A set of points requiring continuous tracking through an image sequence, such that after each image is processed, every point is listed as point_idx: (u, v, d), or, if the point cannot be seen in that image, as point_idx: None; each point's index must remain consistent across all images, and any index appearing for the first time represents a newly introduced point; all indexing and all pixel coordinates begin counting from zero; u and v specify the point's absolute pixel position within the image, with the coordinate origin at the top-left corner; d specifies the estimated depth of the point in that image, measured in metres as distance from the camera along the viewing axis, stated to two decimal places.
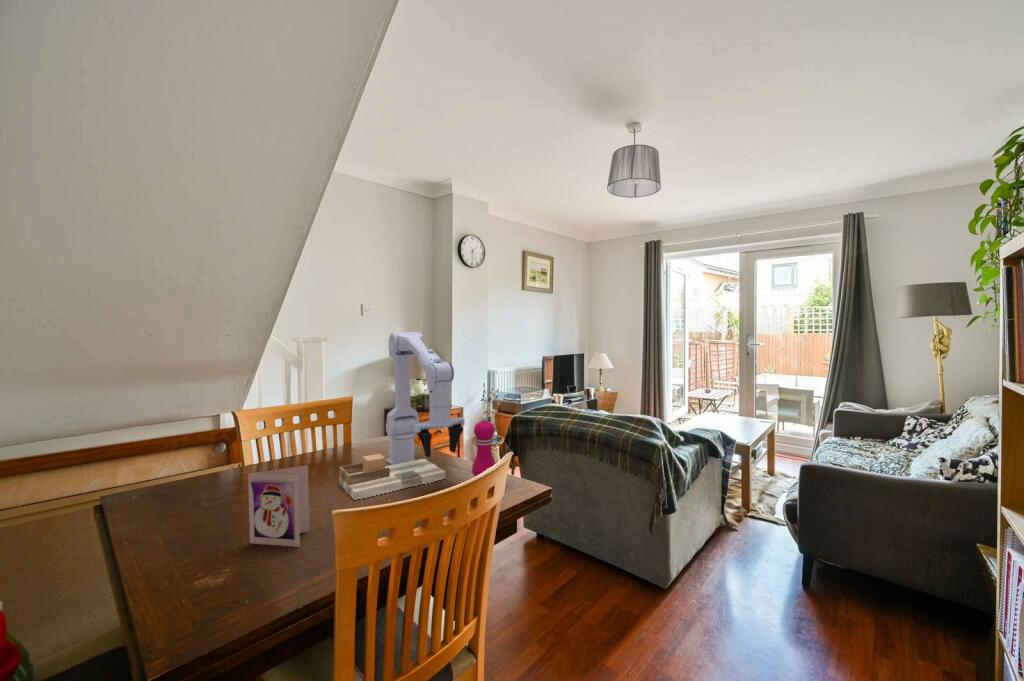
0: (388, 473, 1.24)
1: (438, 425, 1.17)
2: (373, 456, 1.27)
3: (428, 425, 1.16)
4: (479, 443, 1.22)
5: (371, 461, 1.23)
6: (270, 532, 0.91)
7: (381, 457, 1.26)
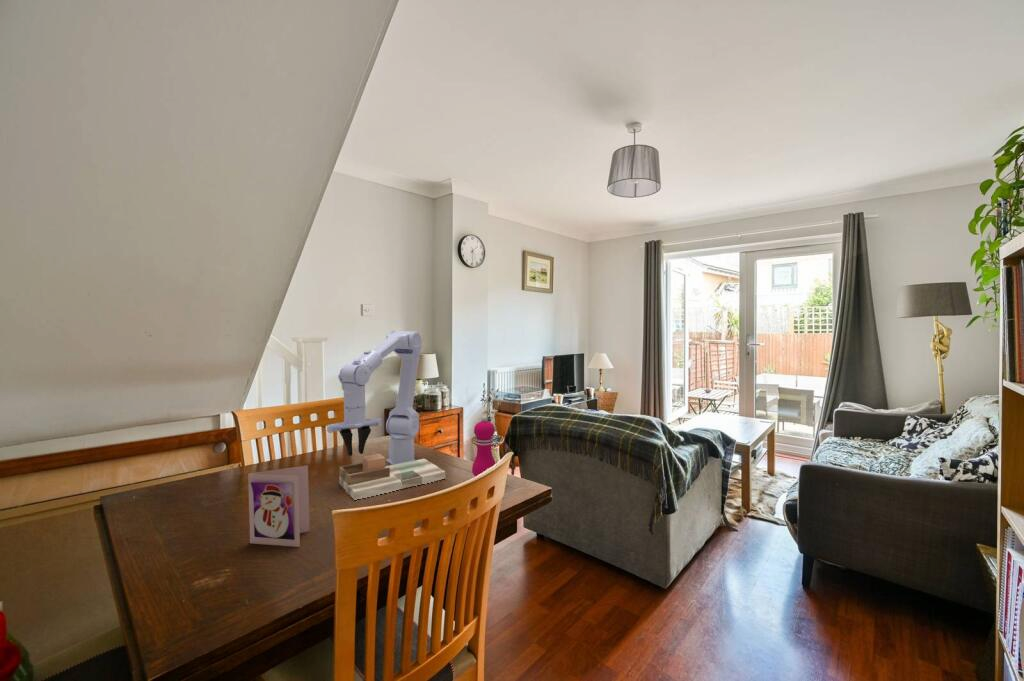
0: (388, 473, 1.24)
1: (351, 426, 1.19)
2: (373, 456, 1.27)
3: (340, 426, 1.19)
4: (479, 443, 1.22)
5: (371, 461, 1.23)
6: (270, 532, 0.91)
7: (381, 457, 1.26)
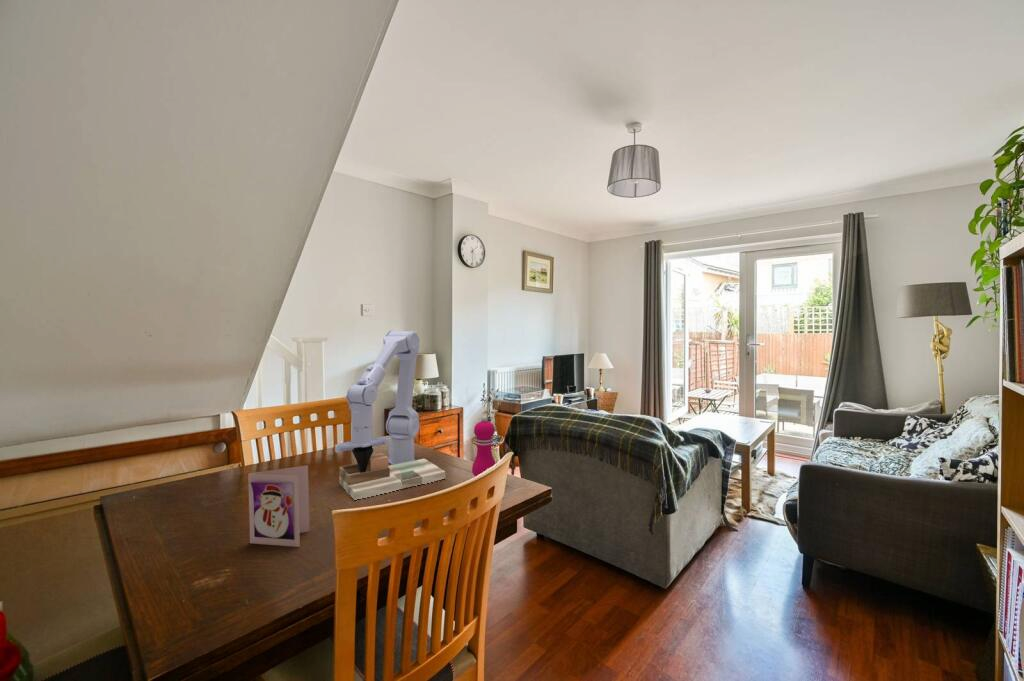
0: (388, 473, 1.24)
1: (358, 445, 1.21)
2: (376, 455, 1.27)
3: (348, 445, 1.20)
4: (479, 443, 1.22)
5: (374, 461, 1.23)
6: (270, 532, 0.91)
7: (384, 456, 1.26)
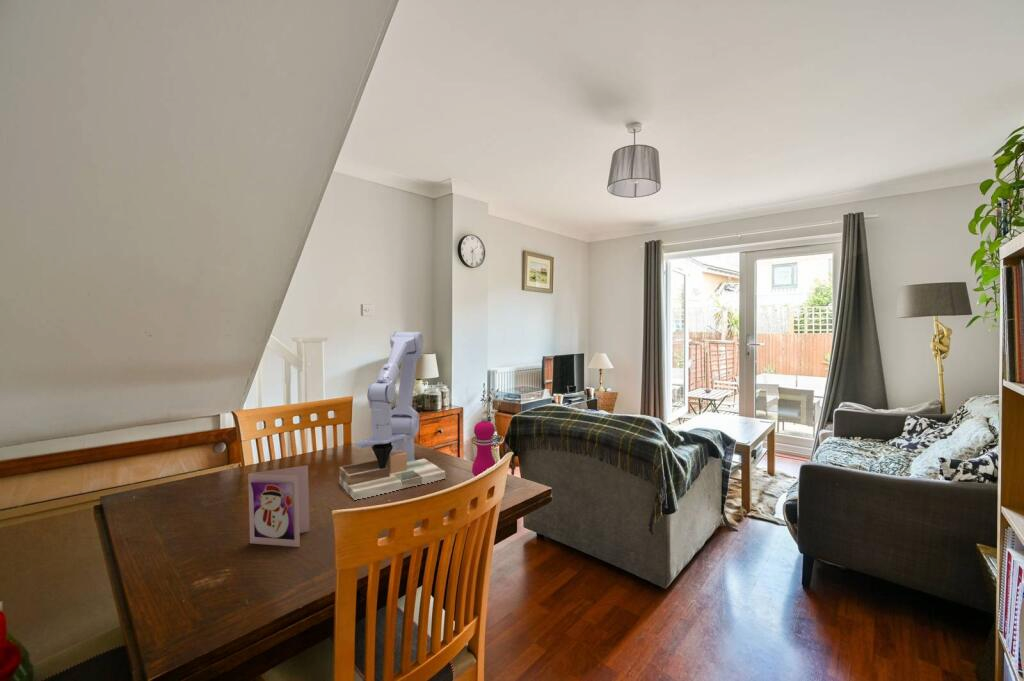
0: (388, 473, 1.24)
1: (378, 442, 1.24)
2: (395, 452, 1.30)
3: (369, 442, 1.23)
4: (479, 443, 1.22)
5: (394, 457, 1.27)
6: (270, 532, 0.91)
7: (403, 453, 1.29)
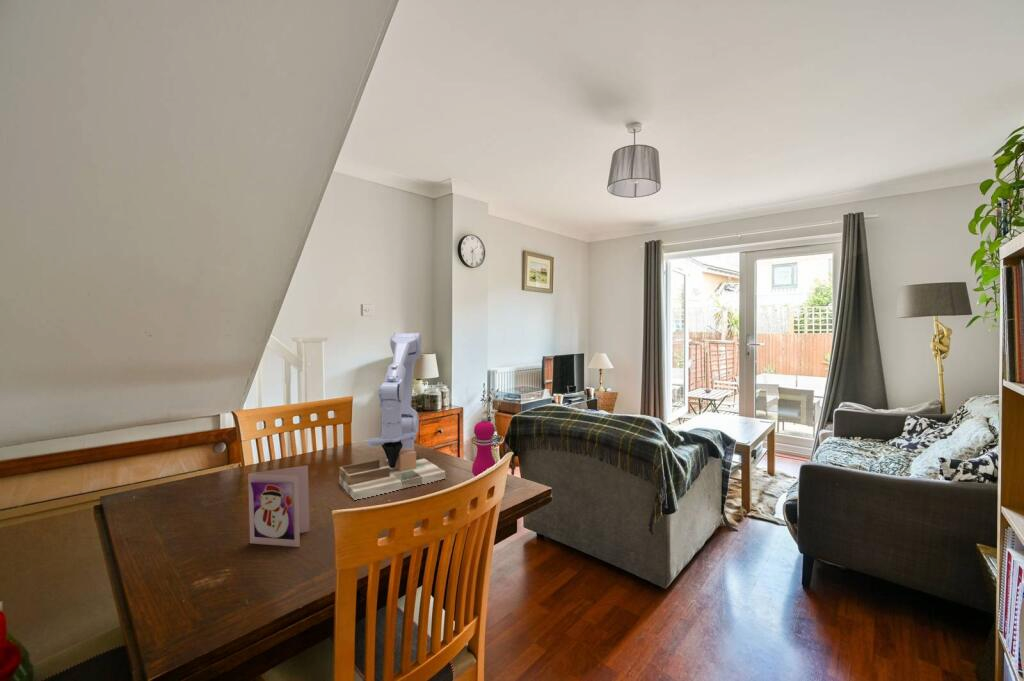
0: (388, 473, 1.24)
1: (389, 440, 1.26)
2: (404, 450, 1.32)
3: (379, 440, 1.25)
4: (479, 443, 1.22)
5: (404, 455, 1.29)
6: (270, 532, 0.91)
7: (412, 451, 1.31)
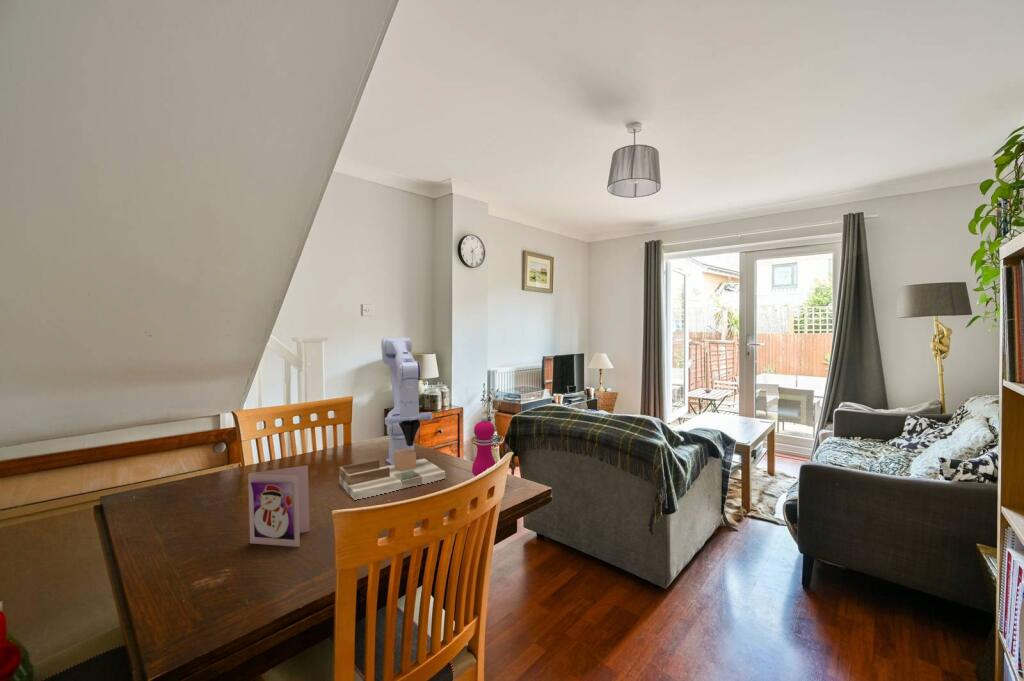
0: (388, 473, 1.24)
1: (406, 418, 1.28)
2: (404, 450, 1.32)
3: (397, 418, 1.27)
4: (479, 443, 1.22)
5: (403, 455, 1.29)
6: (270, 532, 0.91)
7: (412, 451, 1.31)
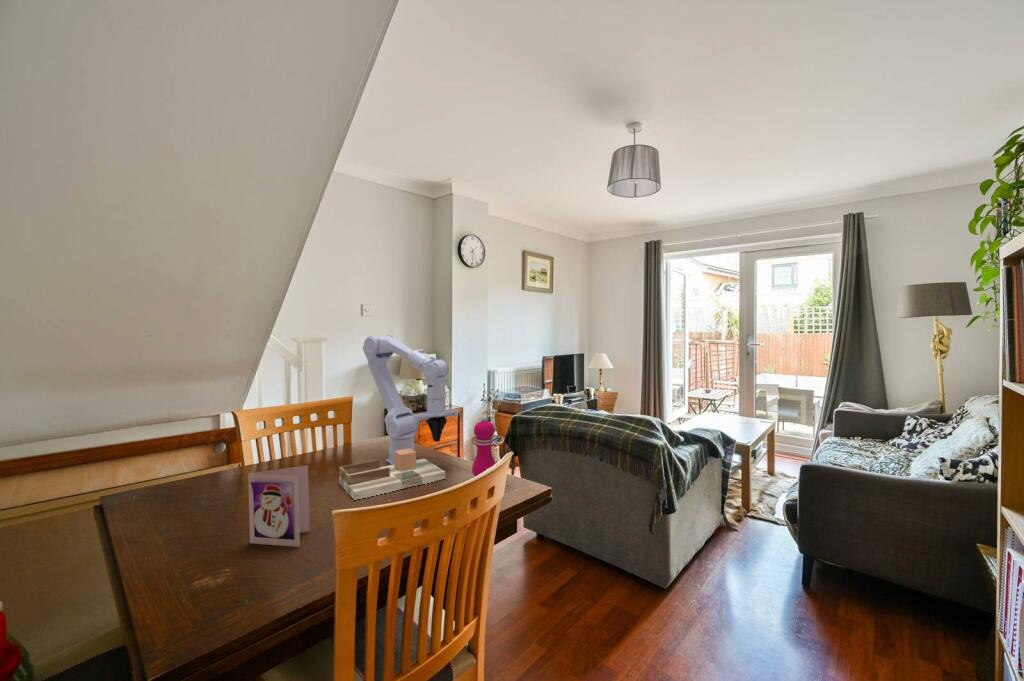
0: (388, 473, 1.24)
1: (434, 415, 1.33)
2: (404, 450, 1.32)
3: (425, 415, 1.32)
4: (479, 443, 1.22)
5: (403, 455, 1.29)
6: (270, 532, 0.91)
7: (412, 451, 1.31)
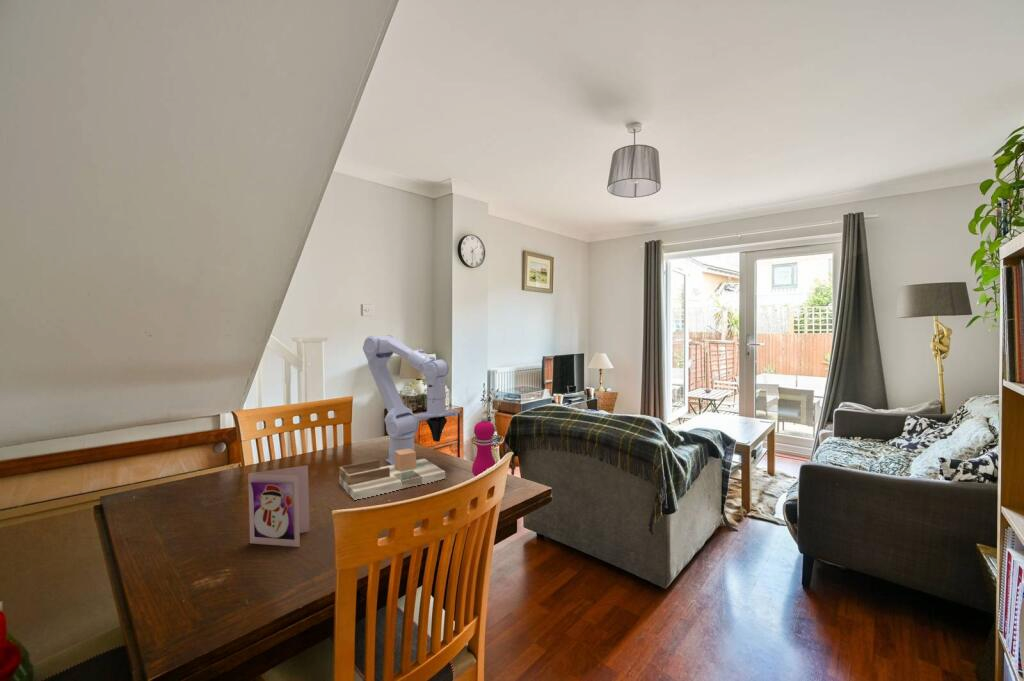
0: (388, 473, 1.24)
1: (434, 415, 1.33)
2: (404, 450, 1.32)
3: (425, 415, 1.32)
4: (479, 443, 1.22)
5: (403, 455, 1.29)
6: (270, 532, 0.91)
7: (412, 451, 1.31)
